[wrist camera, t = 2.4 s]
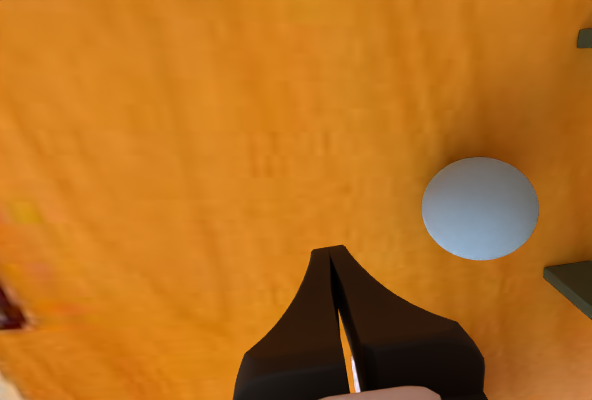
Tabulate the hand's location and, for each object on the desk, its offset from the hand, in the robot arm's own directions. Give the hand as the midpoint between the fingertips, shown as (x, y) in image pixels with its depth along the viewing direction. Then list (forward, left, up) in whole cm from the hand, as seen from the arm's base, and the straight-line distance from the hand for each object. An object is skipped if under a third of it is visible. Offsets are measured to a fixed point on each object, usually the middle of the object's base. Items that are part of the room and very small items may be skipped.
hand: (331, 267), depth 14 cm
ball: (0, -8, -3) cm, 8 cm away
